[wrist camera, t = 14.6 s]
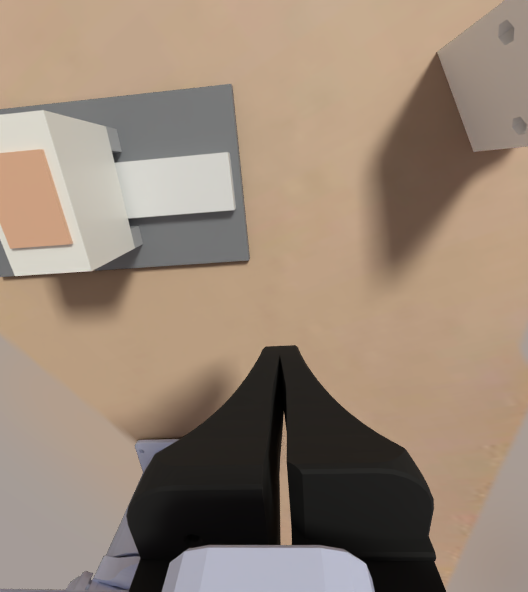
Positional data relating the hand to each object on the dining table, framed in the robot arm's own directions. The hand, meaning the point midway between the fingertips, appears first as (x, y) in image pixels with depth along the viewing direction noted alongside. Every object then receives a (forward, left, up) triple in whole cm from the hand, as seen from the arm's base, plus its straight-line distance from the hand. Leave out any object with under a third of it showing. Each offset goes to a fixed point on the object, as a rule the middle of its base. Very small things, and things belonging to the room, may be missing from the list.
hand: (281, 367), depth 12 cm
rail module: (+7, +11, -9) cm, 16 cm away
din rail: (+7, +11, -10) cm, 16 cm away
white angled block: (+11, -12, -10) cm, 19 cm away
